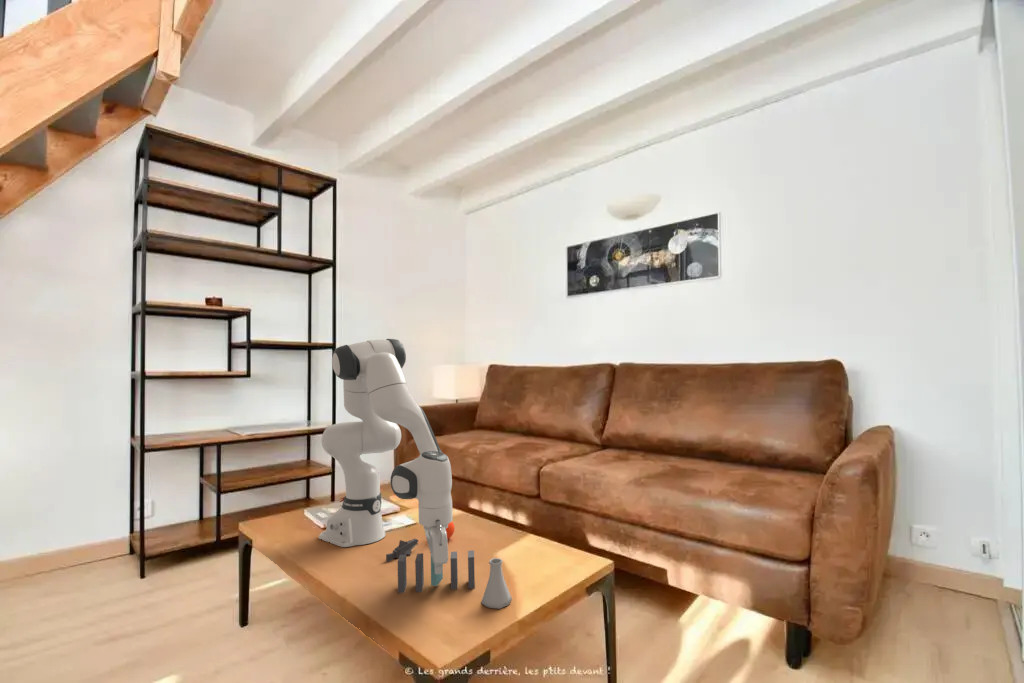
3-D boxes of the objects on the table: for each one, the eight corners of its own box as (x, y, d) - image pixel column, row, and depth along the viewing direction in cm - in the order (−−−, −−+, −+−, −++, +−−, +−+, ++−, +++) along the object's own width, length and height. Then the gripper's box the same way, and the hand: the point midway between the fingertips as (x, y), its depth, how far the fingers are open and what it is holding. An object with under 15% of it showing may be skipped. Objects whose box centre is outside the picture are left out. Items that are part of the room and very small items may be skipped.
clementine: (428, 538, 161) (428, 516, 162) (446, 533, 166) (446, 512, 166) (439, 545, 155) (439, 522, 155) (458, 539, 159) (458, 518, 159)
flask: (500, 612, 113) (500, 569, 114) (475, 604, 117) (475, 563, 118) (516, 599, 120) (516, 558, 120) (492, 592, 123) (491, 552, 124)
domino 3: (431, 585, 125) (430, 554, 125) (437, 577, 129) (436, 547, 129) (436, 586, 124) (436, 554, 125) (442, 578, 129) (442, 547, 129)
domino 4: (451, 589, 125) (450, 558, 125) (451, 582, 129) (451, 551, 130) (457, 589, 125) (456, 558, 125) (457, 581, 130) (457, 551, 130)
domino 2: (415, 592, 124) (415, 560, 124) (417, 584, 129) (417, 553, 129) (422, 591, 124) (421, 560, 125) (423, 583, 129) (423, 553, 129)
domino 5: (468, 588, 125) (467, 557, 126) (468, 580, 130) (468, 550, 130) (474, 588, 126) (474, 557, 126) (474, 580, 130) (474, 550, 130)
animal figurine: (392, 568, 142) (389, 551, 141) (383, 564, 145) (380, 548, 144) (423, 548, 151) (420, 532, 151) (414, 544, 154) (411, 529, 153)
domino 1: (398, 593, 124) (397, 561, 124) (400, 585, 128) (400, 554, 128) (404, 592, 124) (403, 561, 124) (406, 584, 128) (406, 554, 129)
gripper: (453, 526, 118) (454, 583, 118) (442, 502, 138) (443, 551, 137) (427, 529, 117) (428, 587, 116) (420, 504, 136) (421, 554, 136)
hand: (436, 567), depth 127 cm, fingers closed on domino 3, 5 cm apart
